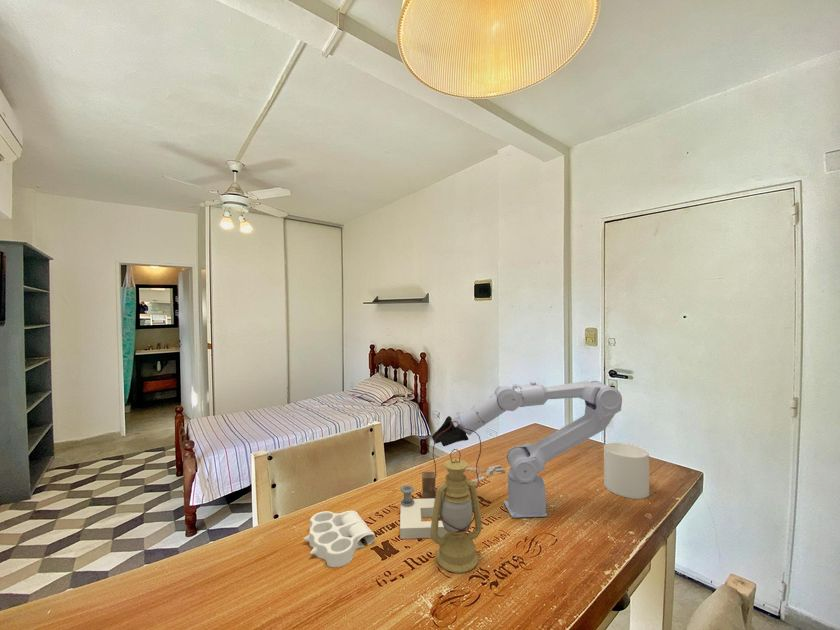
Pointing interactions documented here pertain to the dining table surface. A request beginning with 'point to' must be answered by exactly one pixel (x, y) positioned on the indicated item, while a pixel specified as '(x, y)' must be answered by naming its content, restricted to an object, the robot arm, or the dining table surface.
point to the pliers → (488, 471)
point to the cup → (626, 470)
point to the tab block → (428, 485)
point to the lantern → (456, 517)
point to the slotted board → (416, 516)
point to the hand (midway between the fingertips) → (437, 441)
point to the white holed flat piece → (337, 536)
